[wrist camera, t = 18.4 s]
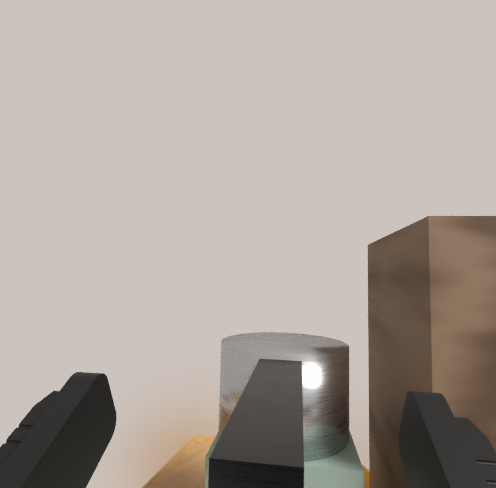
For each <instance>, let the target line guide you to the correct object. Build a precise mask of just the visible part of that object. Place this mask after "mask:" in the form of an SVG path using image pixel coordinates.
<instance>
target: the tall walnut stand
mask: <svg viewBox="0 0 496 488" xmlns="http://www.w3.org/2000/svg"><path fill="white" fill-rule="evenodd" d="M368 314H369V315H368V317H369V318H368V322H369V323H368V325H369V326H368V327H369V448H370V449H369V452H370V453H369V454H370V456H369V457H370V488H409V484H408V481H407V477H406V474H405V471H404V467H403V464H402V460H401V456H400V450H399V430H400V425H401V419H402V414H403V409H404V404H405V398H406V394H407V392H408V391H416V392H433V393H441V394H442V395H443V396H444V397H445V399H446V401H447V403H448V405H449V407H450V409H451V411H452V413H453V415H454V417H461V418H468V419H469V420H470V421H471V422H472V423H473V424H474V425H475V426H476V427H477V428H478V429H479V430H480V431H481V432H482V433H483V434H484V435H485V436H486V437H487V438H488V439H489V441H490V442H491V444H492V446H493V448H494V450H495V451H496V216H428V217H426V218H424V219H422V220H419V221H417V222H415V223H413V224H411V225H409V226H407V227H405V228H403V229H401V230H398V231H396V232H394V233H392V234H390V235H388V236H386V237H384V238H382V239H379V240H377V241H375V242H373V243H371V244H369V245H368Z"/></svg>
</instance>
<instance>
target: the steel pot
mask: <svg viewBox="0 0 496 488" xmlns="http://www.w3.org/2000/svg"><path fill="white" fill-rule="evenodd" d="M220 372H221V373H220V404H219V434H220V438H219V440H218V442H217V444H216V446H215V448H214V450H213V452H212V454H211V455H210V457H209V479H208V488H304V462H309V461H316V460H321V459H325V458H328V457H331V456H334V455H336V454H338V453H339V452H341V451H342V450H344V449H345V447H346V446H347V445H348V443H349V346H348V345H347V344H346V343H344V342H342V341H339V340H336V339H332V338H327V337H321V336H315V335H306V334H296V333H295V334H294V333H247V334H239V335H233V336H229V337H226V338H224V339H223V340H222V341H221V371H220Z"/></svg>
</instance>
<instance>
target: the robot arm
mask: <svg viewBox="0 0 496 488" xmlns="http://www.w3.org/2000/svg"><path fill="white" fill-rule="evenodd" d="M115 425H116V411H115V407H114V403H113V399H112V395H111V391H110V387H109V383H108V379H107V376H106V375H105V374H99V373H83V372H77V373H75V374H73V375H72V376H71V377H70V378H69V380H68V381H67V382H66V384H65V385H64V386H63V388H62V389H61V390H60V391H53V392H52V393H50V394H49V395H48V396H47V397H45V398H44V399H43V400H41V401H40V402H39V403H37V404H36V405H35V406H34V407H33V408H32V409H31V411H30V412H29V413H28V414H27V415H26V417H25V418H24V419H23V420H22V421H21V423H20V424H19V427H18V428H16V429H15V430H14V431H13V432H12V434H11V435H10V436H9V437H8V439H7V441H6V443H5V444H3V445H2V446H1V447H0V488H86V486H87V484H88V482H89V480H90V478H91V477H92V475H93V472H94V471H95V469H96V467H97V465H98V463H99V461H100V459H101V457H102V455H103V453H104V451H105V450H106V447H107V445H108V444H109V442H110V440H111V438H112V435H113V433H114V430H115ZM399 450H400V456H401V460H402V464H403V467H404V471H405V474H406V477H407V481H408V484H409V488H496V451H495V450H494V448H493V446H492V444H491V442H490V441H489V439H488V438H487V437H486V436H485V435H484V434H483V433H482V432H481V431H480V430H479V429H478V428H477V427H476V426H475V425H474V424H473V423H472V422H471V421H470V420H469V419H468V418H461V417H454V415H453V413H452V411H451V409H450V407H449V405H448V403H447V401H446V399H445V397H444V396H443V395H442V394H441V393H433V392H416V391H408V392H407V394H406V398H405V404H404V409H403V414H402V419H401V425H400V430H399Z"/></svg>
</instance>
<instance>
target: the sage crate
mask: <svg viewBox="0 0 496 488" xmlns="http://www.w3.org/2000/svg"><path fill="white" fill-rule="evenodd" d="M219 438H220V434H219V432H218V434H217V436H216V438H215V440H214V441H213V443H212V445H211V447H210V449H209V451H208V453H207V455H206V464H205V488H208V479H209V457H210V455H211V454H212V452H213V450H214V448H215V446H216V444H217V442H218V440H219ZM304 488H364V471H363V468H362V465H361V462H360V459H359V457H358V454H357V451H356V448H355V445H354V442H353V439H352V437H351V434H350V431H349V443H348V445H347V446H346V447H345V449H344V450H342V451H341V452H339V453H338V454H336V455H334V456H331V457H328V458H325V459H321V460H316V461H309V462H304Z"/></svg>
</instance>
